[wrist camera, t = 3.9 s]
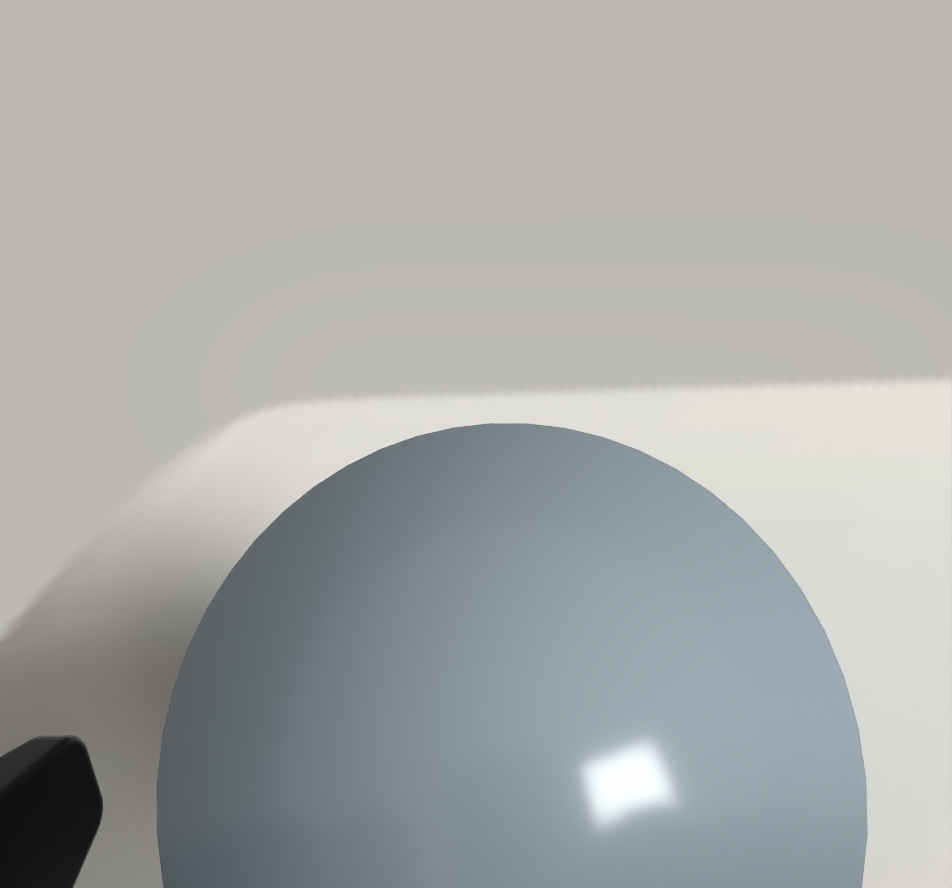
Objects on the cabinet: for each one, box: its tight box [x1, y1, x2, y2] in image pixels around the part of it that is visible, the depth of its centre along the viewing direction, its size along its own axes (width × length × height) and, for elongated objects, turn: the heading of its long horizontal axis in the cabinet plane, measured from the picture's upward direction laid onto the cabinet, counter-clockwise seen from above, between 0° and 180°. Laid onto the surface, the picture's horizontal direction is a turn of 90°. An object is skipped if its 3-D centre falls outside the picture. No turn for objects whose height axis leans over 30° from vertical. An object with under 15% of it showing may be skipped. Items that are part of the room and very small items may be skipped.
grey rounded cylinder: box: [157, 424, 867, 888], centre depth 10 cm, size 4×4×11 cm
